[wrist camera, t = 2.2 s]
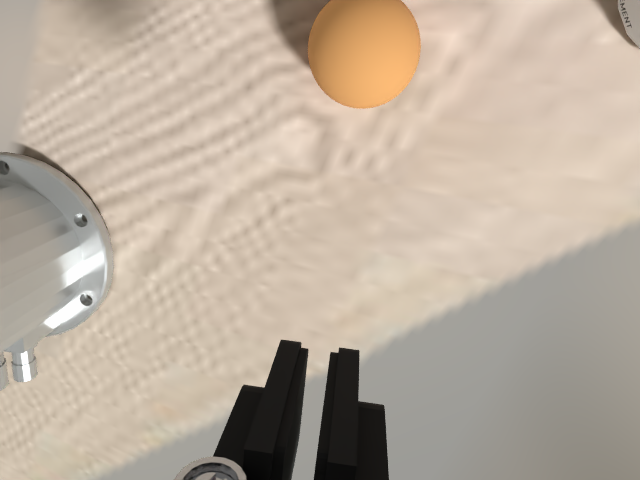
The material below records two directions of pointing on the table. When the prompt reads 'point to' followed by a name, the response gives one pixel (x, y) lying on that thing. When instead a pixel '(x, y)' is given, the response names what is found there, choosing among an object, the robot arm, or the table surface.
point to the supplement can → (631, 18)
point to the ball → (364, 50)
